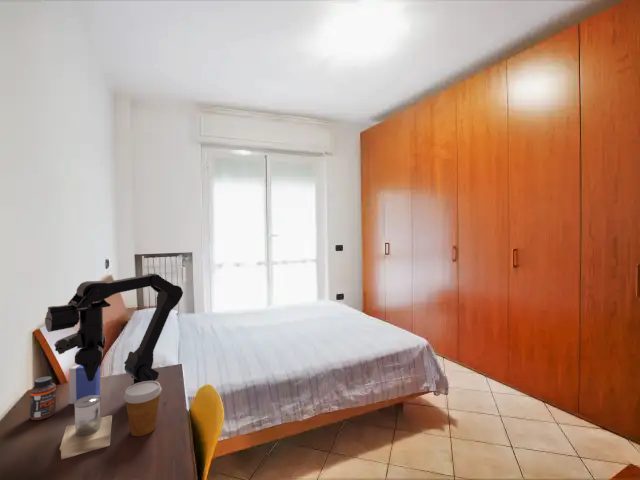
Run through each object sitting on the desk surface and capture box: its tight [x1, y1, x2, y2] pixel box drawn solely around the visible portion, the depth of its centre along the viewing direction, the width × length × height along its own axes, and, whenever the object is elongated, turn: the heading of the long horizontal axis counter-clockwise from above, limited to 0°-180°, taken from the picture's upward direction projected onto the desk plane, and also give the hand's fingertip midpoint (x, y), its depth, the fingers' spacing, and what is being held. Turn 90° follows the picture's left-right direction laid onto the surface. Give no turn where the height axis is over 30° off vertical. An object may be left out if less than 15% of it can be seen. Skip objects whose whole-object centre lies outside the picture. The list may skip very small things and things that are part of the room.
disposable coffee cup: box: [122, 380, 162, 437], centre depth 91 cm, size 10×10×12 cm
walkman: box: [68, 364, 101, 405], centre depth 106 cm, size 8×3×12 cm, turn 99°
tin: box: [73, 395, 101, 437], centre depth 85 cm, size 6×6×8 cm
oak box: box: [59, 415, 113, 460], centre depth 85 cm, size 10×10×3 cm
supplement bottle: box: [29, 376, 57, 421], centre depth 97 cm, size 6×6×11 cm
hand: (92, 374), depth 96 cm, fingers open, 9 cm apart
